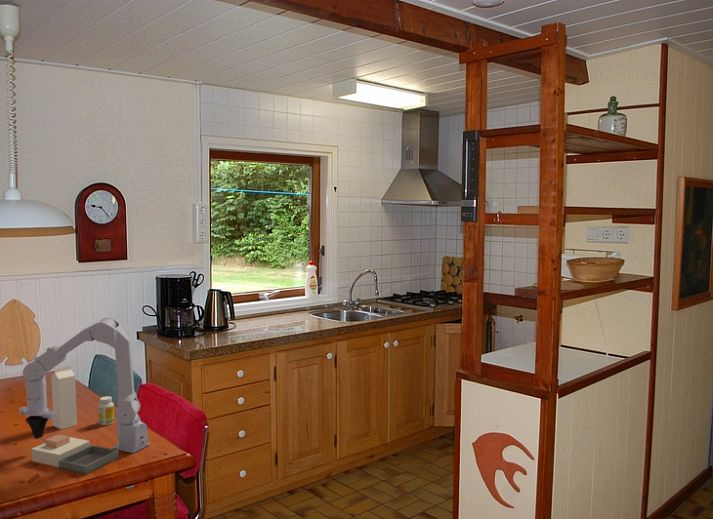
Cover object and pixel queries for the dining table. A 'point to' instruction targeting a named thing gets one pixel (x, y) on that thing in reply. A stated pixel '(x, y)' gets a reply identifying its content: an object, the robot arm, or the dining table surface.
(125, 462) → the dining table surface
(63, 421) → the milk
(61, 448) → the cream square platform
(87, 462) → the tray
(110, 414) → the supplement bottle
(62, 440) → the block
